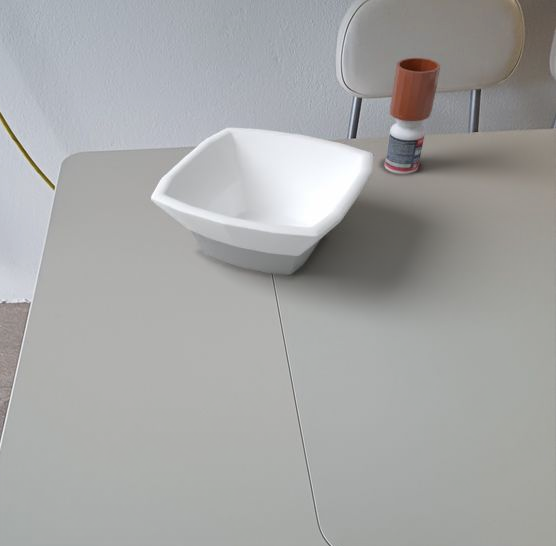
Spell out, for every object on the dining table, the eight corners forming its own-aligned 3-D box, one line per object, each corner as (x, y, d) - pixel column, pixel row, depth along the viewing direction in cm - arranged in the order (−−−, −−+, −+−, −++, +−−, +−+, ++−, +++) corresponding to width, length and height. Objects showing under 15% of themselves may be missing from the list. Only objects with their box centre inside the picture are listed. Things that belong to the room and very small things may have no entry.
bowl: (376, 215, 93) (387, 148, 86) (316, 317, 77) (323, 245, 70) (225, 183, 102) (224, 120, 95) (142, 269, 86) (133, 200, 79)
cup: (410, 101, 100) (418, 54, 95) (439, 114, 96) (449, 66, 92) (381, 111, 98) (387, 63, 93) (409, 124, 94) (418, 75, 89)
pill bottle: (416, 177, 101) (427, 121, 95) (382, 173, 102) (391, 118, 96) (419, 161, 104) (429, 107, 98) (386, 158, 106) (394, 104, 100)
